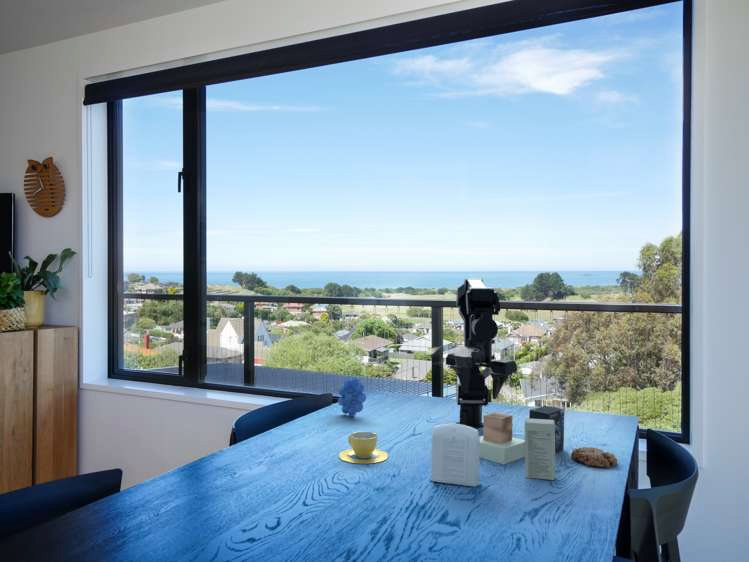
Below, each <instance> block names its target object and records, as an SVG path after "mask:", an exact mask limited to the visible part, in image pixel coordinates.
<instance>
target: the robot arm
mask: <svg viewBox="0 0 749 562" xmlns="http://www.w3.org/2000/svg"><path fill="white" fill-rule="evenodd" d="M483 281H484V280H483V278H481V277H480V278H479V277H478V278H477V277H472V278H471V277H468V278H465V279H464V281H463V282H464V283H462V284H461V285H460V286H459V287H458V288H457V292H456V302H455V303H456V307H457V308H458V314H459V316H460V317H461V319H462V320H463V333H464V334H463V337H464V339H463V341H464V342H463V343H464V346H463V347H462V348H460V349H459V350H457V351H456V352H452V353H448V354H447V355H446V357H445V365H446V366H447V365H448V366H449V368H450V369H452V371H454V372H455V373H456V376H457V377H458V380H459V381H458V382H459V383H457V385H456V395H455V398H456V400H455V401H456V405H457V406H459V407H460V408H459V421H457V422H455V424H462V425H466V426H469V427H472V428H474V429H478V428H481V427H484V422H483V421H482V420H483V407H487V406H488V405H489V397H490V396H489V395H490V389H489V388H488V384H486V377H485V375H484V374H483V373H482V372H481V370H480V367H482V368H489V369H490V370H491V371H492V373H489V374H490V375H489V376H491V378H492V399H493V400H496V399H497V398H498V396H499V394H500V393H501V390H502V388H503V386H504V384H505V382H506V381H507V378H509V376H511V375H513V373H517V372H518V364H517V363H516V361H515V359H514V360H513V359H506V358H501V359H497V360H496V358H495V355H493V353H492V352H493V346H492V345H494V344H496V343H495V342H496V340H495V338H496V336H497V334H498V332H499V327H498V324H497V322H496V321H495V320H494V319H493V316H498V315H499V313H500V312H501V304H500V302H501V301H500V297H499V295H498V292H497V291H495V288H494V287H493V286H492V287H491V286H486V285H485V284H484V282H483Z"/></svg>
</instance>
